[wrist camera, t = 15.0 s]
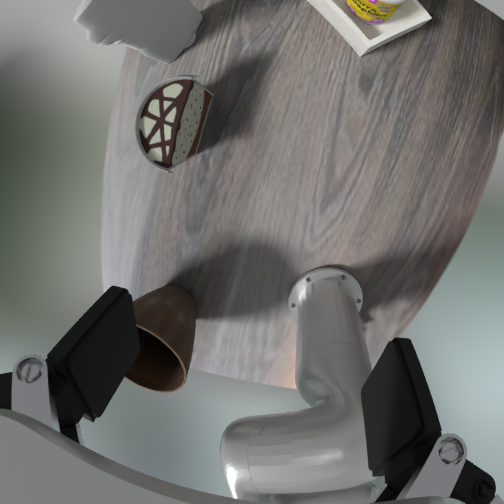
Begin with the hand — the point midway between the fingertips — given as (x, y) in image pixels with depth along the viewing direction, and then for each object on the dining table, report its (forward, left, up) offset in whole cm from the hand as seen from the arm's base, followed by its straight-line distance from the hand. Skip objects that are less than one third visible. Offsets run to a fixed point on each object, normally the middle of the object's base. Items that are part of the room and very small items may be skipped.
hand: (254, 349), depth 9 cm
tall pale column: (+27, -2, -32) cm, 42 cm away
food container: (+16, +6, -32) cm, 37 cm away
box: (+15, -26, -32) cm, 44 cm away
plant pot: (-6, +29, -32) cm, 44 cm away
